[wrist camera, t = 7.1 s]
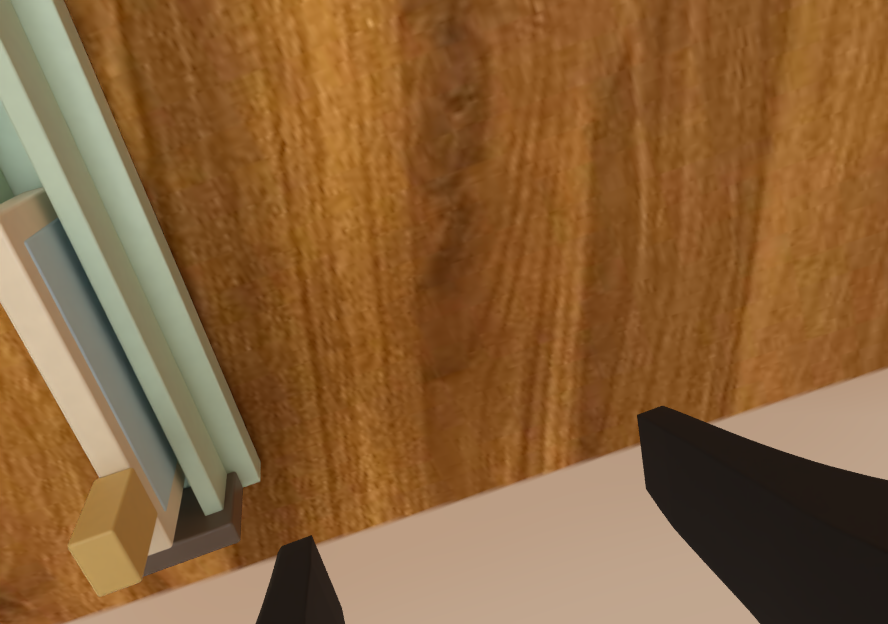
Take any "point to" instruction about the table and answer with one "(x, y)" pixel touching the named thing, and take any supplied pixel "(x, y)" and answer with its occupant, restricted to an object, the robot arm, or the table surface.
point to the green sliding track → (122, 263)
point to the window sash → (90, 396)
